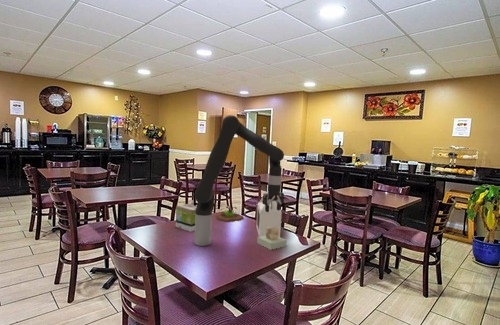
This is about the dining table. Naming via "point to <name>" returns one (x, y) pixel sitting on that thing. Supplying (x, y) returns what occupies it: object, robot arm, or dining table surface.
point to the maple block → (272, 233)
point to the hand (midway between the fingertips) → (272, 211)
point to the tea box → (186, 217)
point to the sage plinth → (271, 242)
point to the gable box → (268, 217)
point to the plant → (229, 216)
